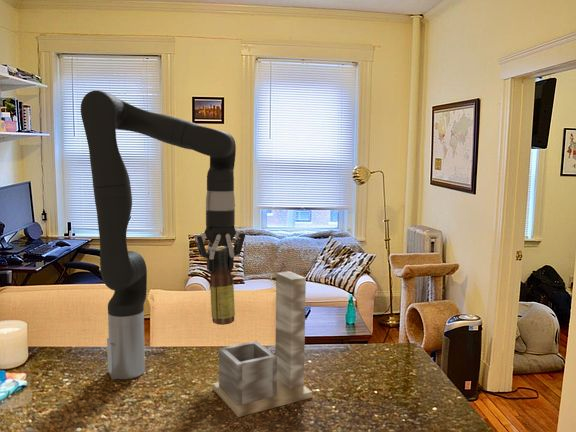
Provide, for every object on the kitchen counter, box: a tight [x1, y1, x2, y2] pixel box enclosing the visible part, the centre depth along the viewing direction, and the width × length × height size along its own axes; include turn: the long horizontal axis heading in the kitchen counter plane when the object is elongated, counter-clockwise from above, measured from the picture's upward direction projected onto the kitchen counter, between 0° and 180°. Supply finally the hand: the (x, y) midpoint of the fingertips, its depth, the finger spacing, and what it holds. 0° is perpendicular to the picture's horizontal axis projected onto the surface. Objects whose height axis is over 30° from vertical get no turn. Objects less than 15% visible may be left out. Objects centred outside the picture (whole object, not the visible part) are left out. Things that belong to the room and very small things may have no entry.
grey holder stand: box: [212, 270, 313, 418], centre depth 125 cm, size 20×16×30 cm
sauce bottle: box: [209, 248, 236, 326], centre depth 134 cm, size 7×6×20 cm
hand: (220, 271), depth 134 cm, fingers closed on sauce bottle, 4 cm apart
